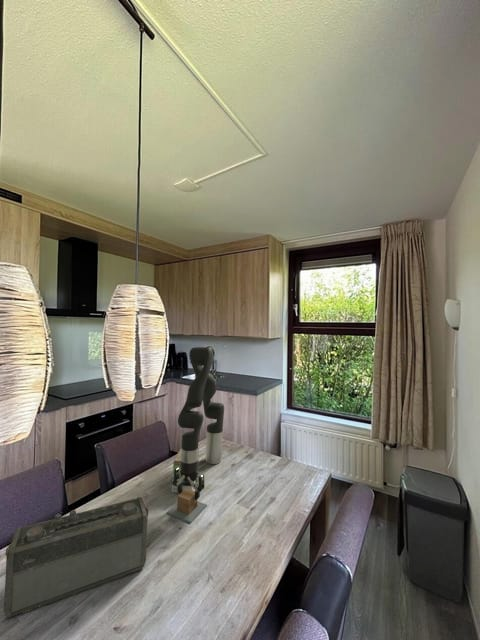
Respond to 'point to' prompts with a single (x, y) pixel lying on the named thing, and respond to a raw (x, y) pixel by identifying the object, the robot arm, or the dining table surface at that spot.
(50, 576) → the radio
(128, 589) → the dining table surface
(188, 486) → the tea box
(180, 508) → the walnut cube
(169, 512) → the coaster
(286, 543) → the dining table surface
